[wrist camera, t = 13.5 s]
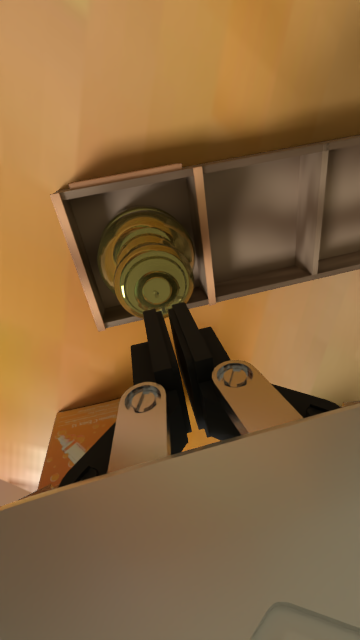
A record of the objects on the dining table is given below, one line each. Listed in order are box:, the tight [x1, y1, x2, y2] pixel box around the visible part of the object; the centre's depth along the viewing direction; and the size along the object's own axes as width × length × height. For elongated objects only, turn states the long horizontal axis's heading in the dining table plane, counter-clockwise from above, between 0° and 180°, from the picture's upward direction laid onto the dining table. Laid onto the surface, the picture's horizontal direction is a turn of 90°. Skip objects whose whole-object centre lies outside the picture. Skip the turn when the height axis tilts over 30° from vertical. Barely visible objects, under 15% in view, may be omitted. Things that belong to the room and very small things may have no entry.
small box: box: [37, 398, 121, 490], centre depth 29 cm, size 8×6×13 cm
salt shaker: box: [97, 205, 195, 319], centre depth 21 cm, size 7×7×10 cm
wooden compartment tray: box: [50, 135, 360, 331], centre depth 25 cm, size 11×31×4 cm, turn 99°
